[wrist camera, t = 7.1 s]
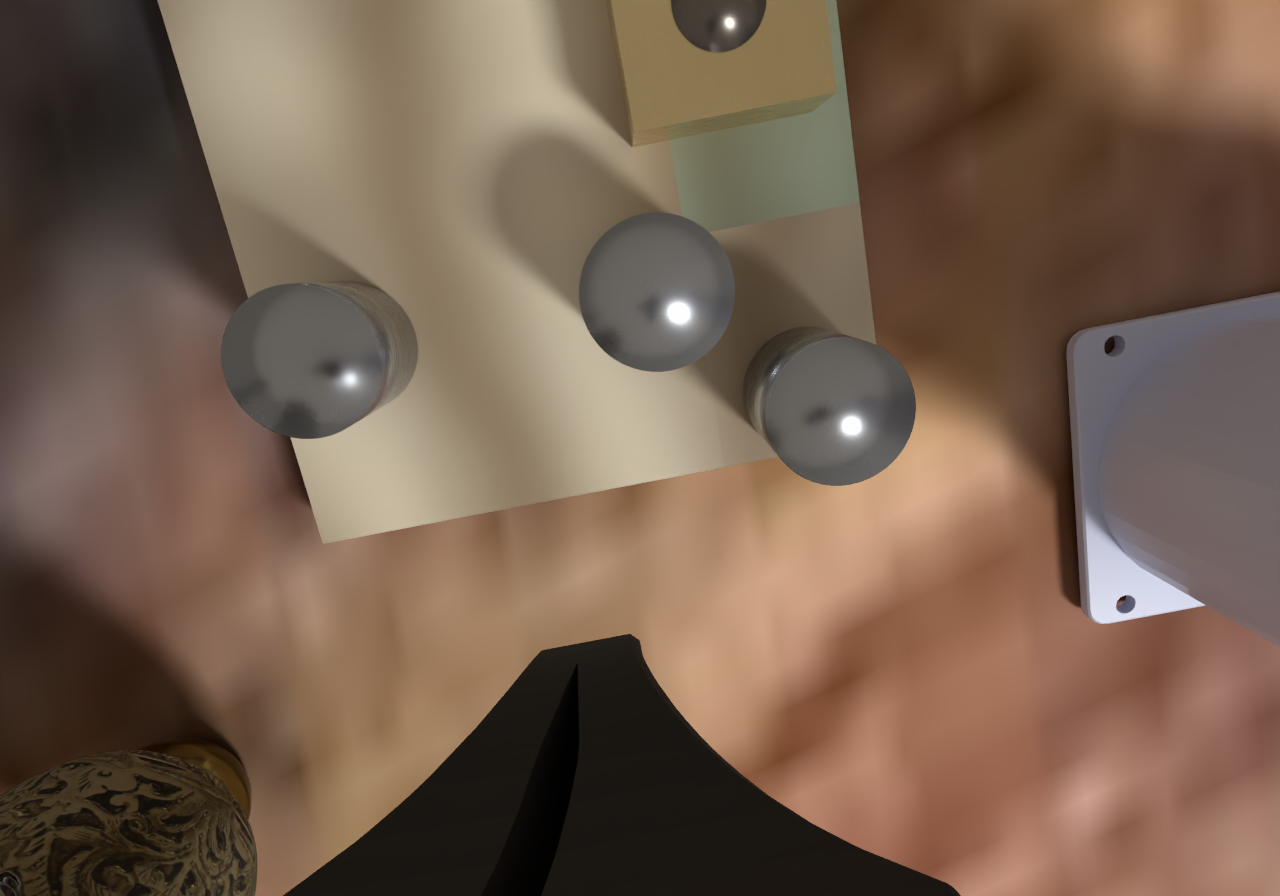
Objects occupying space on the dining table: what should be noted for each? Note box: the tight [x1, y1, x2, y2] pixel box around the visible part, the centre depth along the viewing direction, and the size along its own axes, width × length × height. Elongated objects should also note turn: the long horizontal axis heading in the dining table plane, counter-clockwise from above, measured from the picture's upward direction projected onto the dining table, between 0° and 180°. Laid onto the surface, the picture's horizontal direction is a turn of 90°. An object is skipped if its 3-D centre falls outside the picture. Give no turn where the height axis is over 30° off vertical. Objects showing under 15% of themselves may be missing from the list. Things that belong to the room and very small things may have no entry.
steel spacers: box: [221, 212, 916, 486], centre depth 15 cm, size 13×16×3 cm
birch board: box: [157, 0, 876, 544], centre depth 17 cm, size 14×19×1 cm
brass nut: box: [606, 0, 837, 148], centre depth 15 cm, size 4×4×2 cm
